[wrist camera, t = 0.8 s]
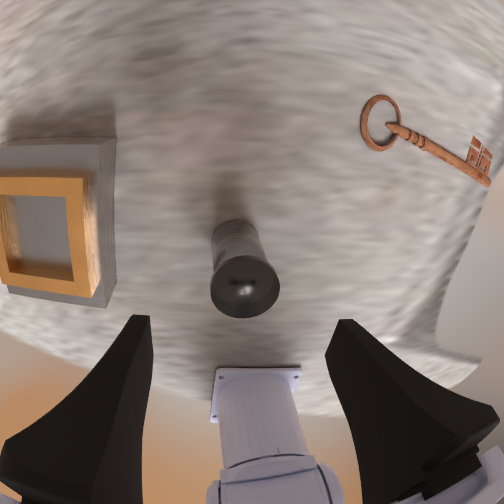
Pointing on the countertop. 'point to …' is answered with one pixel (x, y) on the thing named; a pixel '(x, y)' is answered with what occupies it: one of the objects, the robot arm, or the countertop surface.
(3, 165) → the chuck block
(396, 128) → the key
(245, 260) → the peg
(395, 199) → the countertop surface
